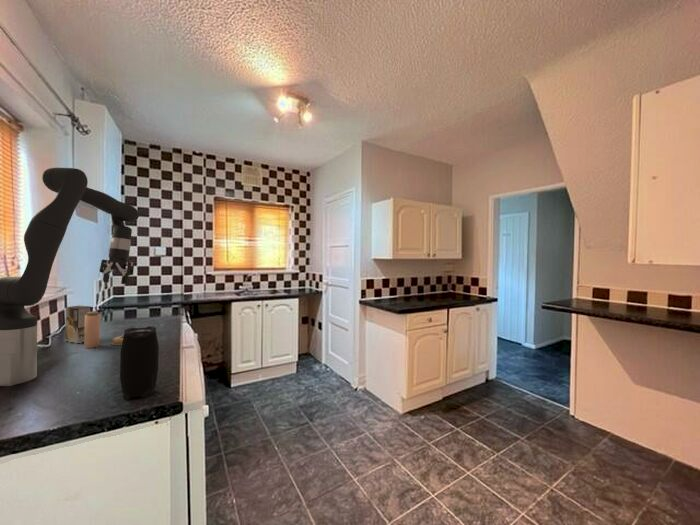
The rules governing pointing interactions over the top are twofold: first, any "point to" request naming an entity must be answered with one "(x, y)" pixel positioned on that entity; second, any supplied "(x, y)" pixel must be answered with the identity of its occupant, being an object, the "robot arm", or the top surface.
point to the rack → (117, 340)
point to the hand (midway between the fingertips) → (114, 283)
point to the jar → (92, 330)
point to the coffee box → (76, 323)
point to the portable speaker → (139, 362)
